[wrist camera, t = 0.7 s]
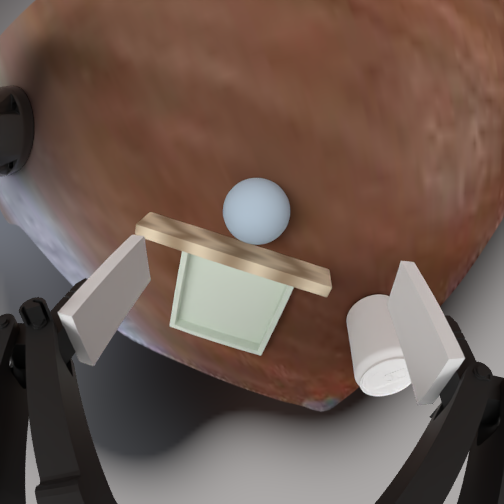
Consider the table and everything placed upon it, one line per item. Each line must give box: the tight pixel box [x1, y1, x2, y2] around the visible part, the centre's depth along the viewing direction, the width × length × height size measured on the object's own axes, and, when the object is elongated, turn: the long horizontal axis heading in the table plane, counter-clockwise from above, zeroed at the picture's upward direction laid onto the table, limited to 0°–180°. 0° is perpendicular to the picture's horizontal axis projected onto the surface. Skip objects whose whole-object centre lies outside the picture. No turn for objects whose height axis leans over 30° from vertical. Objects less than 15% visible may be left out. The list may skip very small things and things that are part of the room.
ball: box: [223, 178, 290, 245], centre depth 31 cm, size 7×7×7 cm
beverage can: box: [346, 294, 411, 396], centre depth 35 cm, size 8×8×12 cm
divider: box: [135, 212, 332, 297], centre depth 36 cm, size 24×2×4 cm, turn 74°
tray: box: [170, 251, 294, 356], centre depth 41 cm, size 14×14×2 cm
